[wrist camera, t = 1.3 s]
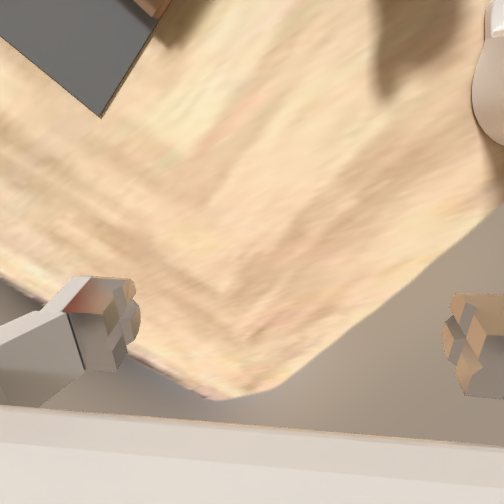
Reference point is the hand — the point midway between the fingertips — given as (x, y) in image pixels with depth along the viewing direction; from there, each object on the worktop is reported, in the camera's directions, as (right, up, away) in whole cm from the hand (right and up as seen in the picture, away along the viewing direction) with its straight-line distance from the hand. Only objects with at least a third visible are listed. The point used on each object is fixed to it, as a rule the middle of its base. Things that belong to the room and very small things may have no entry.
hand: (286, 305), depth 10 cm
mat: (-20, +26, +28) cm, 43 cm away
